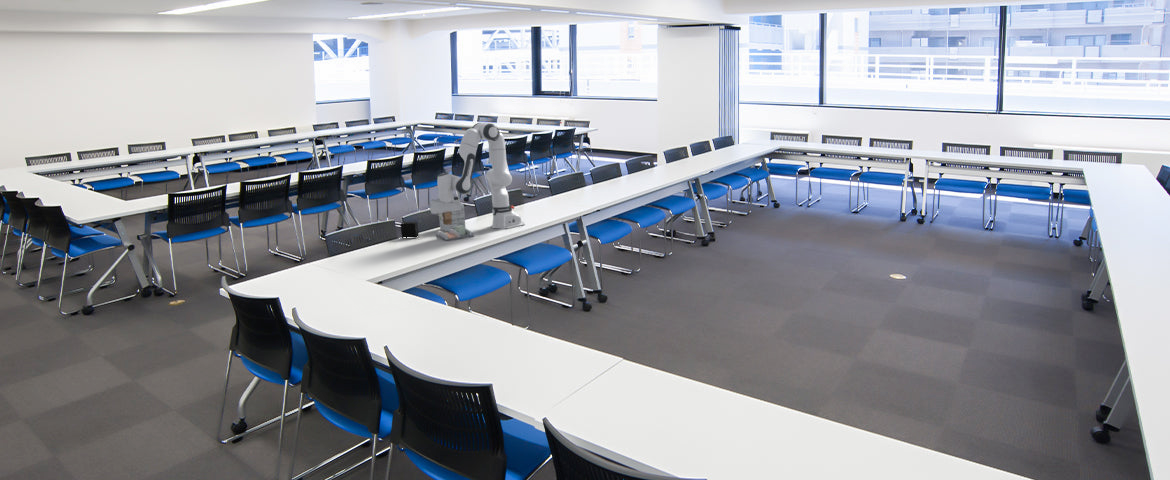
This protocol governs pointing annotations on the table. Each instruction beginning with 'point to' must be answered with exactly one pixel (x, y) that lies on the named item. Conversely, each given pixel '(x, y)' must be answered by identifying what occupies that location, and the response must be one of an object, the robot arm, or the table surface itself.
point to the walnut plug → (447, 218)
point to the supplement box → (454, 220)
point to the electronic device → (409, 229)
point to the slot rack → (455, 234)
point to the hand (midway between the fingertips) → (447, 219)
